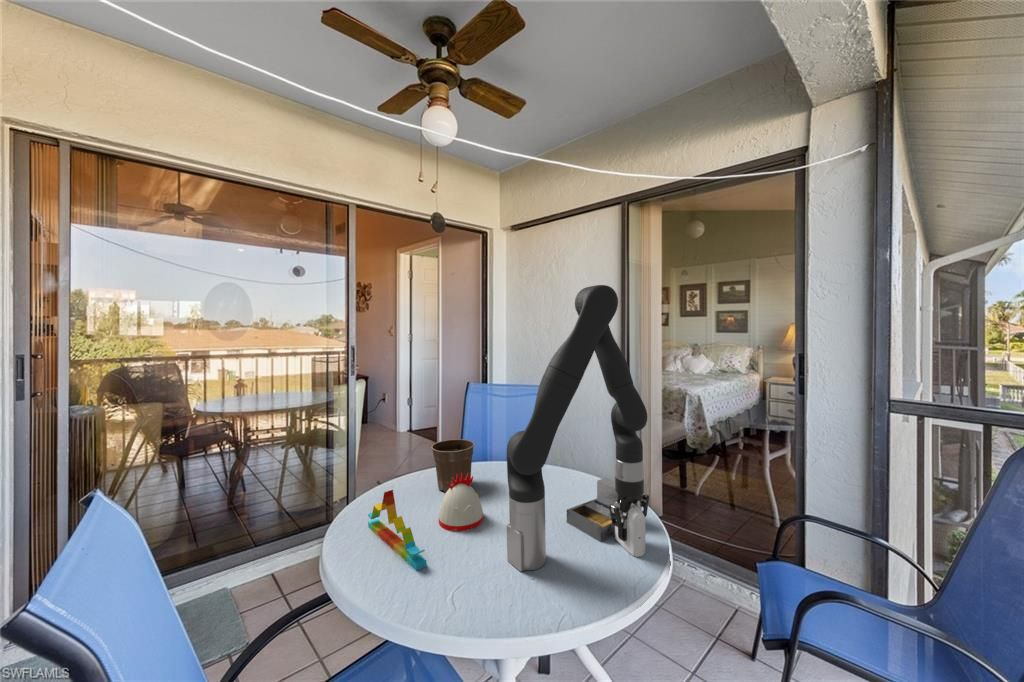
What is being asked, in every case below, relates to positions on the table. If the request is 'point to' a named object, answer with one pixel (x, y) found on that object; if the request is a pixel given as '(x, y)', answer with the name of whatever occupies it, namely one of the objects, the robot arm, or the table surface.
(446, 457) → the plant pot
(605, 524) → the rack
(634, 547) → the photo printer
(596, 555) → the table surface
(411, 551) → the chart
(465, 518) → the kitchen timer
